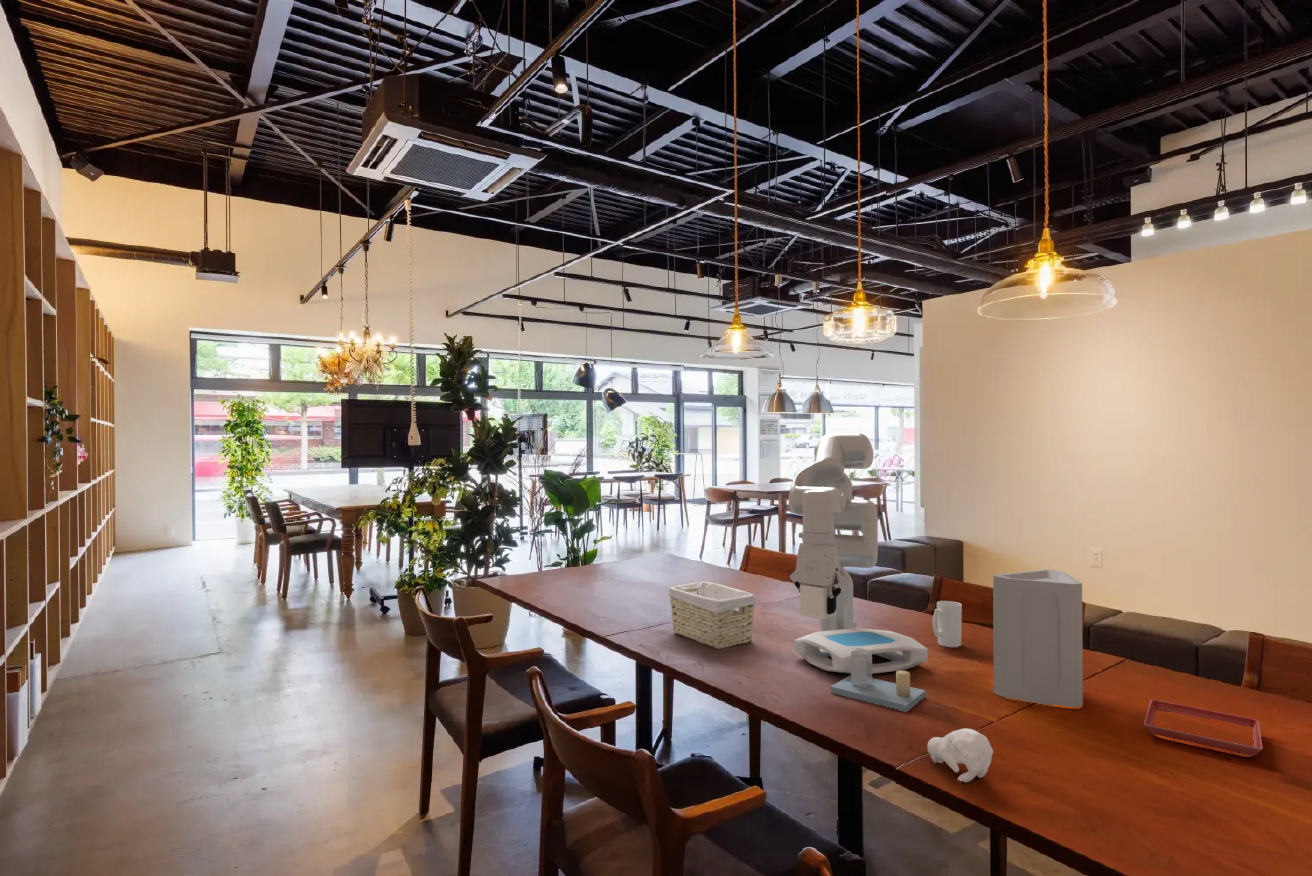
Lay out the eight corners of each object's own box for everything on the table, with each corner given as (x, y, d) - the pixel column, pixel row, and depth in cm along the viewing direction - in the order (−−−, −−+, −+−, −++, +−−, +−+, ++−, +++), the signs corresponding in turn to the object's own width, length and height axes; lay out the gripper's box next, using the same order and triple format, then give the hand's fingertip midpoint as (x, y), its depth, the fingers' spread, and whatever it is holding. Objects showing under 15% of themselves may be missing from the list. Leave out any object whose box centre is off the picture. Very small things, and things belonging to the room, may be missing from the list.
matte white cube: (813, 610, 175) (813, 580, 175) (836, 614, 171) (835, 584, 171) (800, 615, 170) (800, 584, 170) (823, 619, 166) (823, 588, 166)
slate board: (852, 679, 172) (852, 653, 172) (925, 696, 160) (925, 669, 160) (831, 692, 163) (830, 665, 163) (906, 712, 151) (906, 682, 151)
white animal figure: (970, 738, 118) (915, 720, 128) (974, 790, 117) (919, 767, 127) (995, 731, 120) (939, 714, 131) (999, 781, 120) (943, 760, 130)
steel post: (857, 680, 167) (857, 648, 167) (872, 684, 164) (871, 651, 164) (851, 684, 164) (851, 651, 164) (865, 688, 161) (865, 654, 161)
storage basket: (758, 642, 204) (758, 593, 204) (717, 652, 194) (717, 600, 195) (706, 625, 223) (706, 580, 223) (666, 633, 214) (666, 586, 214)
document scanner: (929, 667, 179) (929, 643, 180) (841, 678, 169) (841, 652, 169) (876, 647, 199) (875, 625, 199) (793, 656, 189) (793, 633, 189)
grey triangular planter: (1049, 716, 149) (1048, 587, 149) (992, 693, 162) (991, 575, 163) (1107, 703, 156) (1106, 580, 156) (1048, 682, 170) (1047, 569, 170)
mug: (948, 640, 206) (948, 600, 206) (967, 646, 200) (966, 604, 200) (923, 644, 201) (923, 603, 202) (942, 650, 195) (942, 608, 195)
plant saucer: (1150, 712, 151) (1150, 697, 151) (1259, 735, 140) (1258, 718, 140) (1143, 740, 137) (1143, 724, 137) (1263, 767, 126) (1263, 749, 126)
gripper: (780, 537, 174) (780, 608, 174) (843, 544, 162) (843, 619, 162) (795, 534, 179) (795, 603, 179) (857, 540, 168) (857, 614, 168)
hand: (818, 610), depth 171 cm, fingers closed on matte white cube, 6 cm apart
